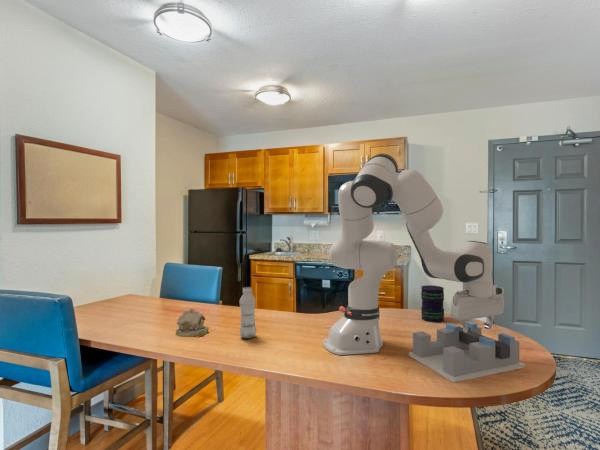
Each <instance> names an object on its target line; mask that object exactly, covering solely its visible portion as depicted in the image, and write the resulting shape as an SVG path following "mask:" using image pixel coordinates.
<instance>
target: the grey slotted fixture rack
mask: <svg viewBox="0 0 600 450" xmlns="http://www.w3.org/2000/svg"><path fill="white" fill-rule="evenodd" d="M467 324H468V327H471V329H470V330H471V331H473V332H475V333H478V334H480V335H482V334H483V333H482V327H481V326H479V325H478V323H475V322H473V321H470V320H468V323H467ZM497 336H498V338H497V339H498V340H497V341H499V342H501V343H504V344H506V345H509V346H510V358H506V359H499V358H497V357H495V340H496V339H493V338H491V339H490V337H488V338H487V336H486V337H485V335H483V336H482V337H479V342H475V343H469V345H467V344H465V343H463V342H461V341H459V325H456V324H453V323H452V322H450V323H445V328H436V340H434V341H432V339H431V338H432V337H431V334H429V333H427V332H424V331H422V330H421V331H416V332H412V350H413V351H410V352H408V356H409V357H411V358H412V359H414V360H416V361H417V362H419V363H421V364H422V365H423V366H425V367H426V368H429V369H430V370H432V371H433V372H435V373H437V374H438V375H440V376H442V377H443V378H445V379H447V380H448V381H450V382H451V383H454V384H455V383H459V382H463V381H467V380H473V379H477V378H481V377H486V376H492V375H497V374H500V373H506V372H511V371H515V370H519V369H523V368H525V367H526V363H523V362H520V341H519V340H516V339H515V336H512V335H508V334H507V333H504V332H502V333H501V332H500V333H498V335H497ZM492 339H493V340H492Z"/></svg>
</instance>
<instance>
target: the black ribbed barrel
mask: <svg viewBox="0 0 600 450" xmlns="http://www.w3.org/2000/svg"><path fill="white" fill-rule="evenodd" d="M420 290H421V292H420V297H421V307H420V308H421V320H422V321H424V322H428V323H433V324H434V323H443V322H445V319H444V317H445V308H444V301H445V293H444V292H445V291H444V290H445V287H443V286H439V285H429V284H426V285H422V286H421V289H420Z"/></svg>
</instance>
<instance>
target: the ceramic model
mask: <svg viewBox="0 0 600 450" xmlns="http://www.w3.org/2000/svg"><path fill="white" fill-rule="evenodd" d="M205 321H206V317H205V316H204V314H202V313H201V312H200V311H198V310H195V309H194V308H190V309H189V310H184V311H183V312H182V314H181V315H179V317H178V318H177V321H176V325H178V328H177V329H176V330H175V334H176V336H178V337H187V338H189V337H190V338H192V337H193V338H194V337H195V338H196V337H197V338H198V337H202V336H205V335H206V334H208V333H209V326H204V324H205Z"/></svg>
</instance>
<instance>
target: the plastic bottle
mask: <svg viewBox="0 0 600 450" xmlns="http://www.w3.org/2000/svg"><path fill="white" fill-rule="evenodd" d="M239 309H240V327H239V333H240V337H241V338H243V339H251V338H255V336H256V334H257V328H256V320H255V309H256V298H255V297H254V295H253V288H252V287H251V286H245V287H244V286H243V287H242V295H241V297H240V298H239Z"/></svg>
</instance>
